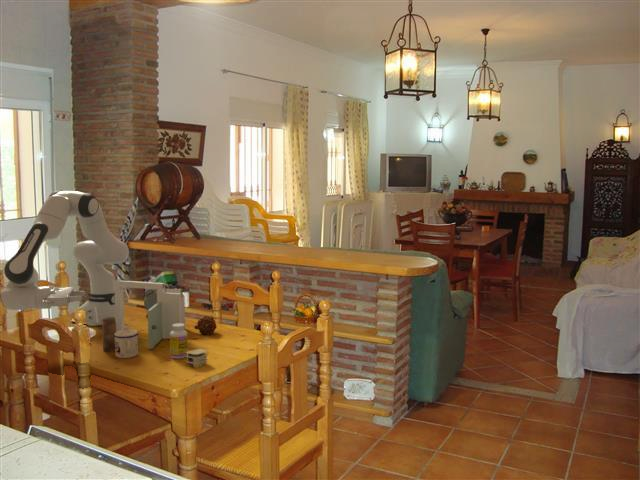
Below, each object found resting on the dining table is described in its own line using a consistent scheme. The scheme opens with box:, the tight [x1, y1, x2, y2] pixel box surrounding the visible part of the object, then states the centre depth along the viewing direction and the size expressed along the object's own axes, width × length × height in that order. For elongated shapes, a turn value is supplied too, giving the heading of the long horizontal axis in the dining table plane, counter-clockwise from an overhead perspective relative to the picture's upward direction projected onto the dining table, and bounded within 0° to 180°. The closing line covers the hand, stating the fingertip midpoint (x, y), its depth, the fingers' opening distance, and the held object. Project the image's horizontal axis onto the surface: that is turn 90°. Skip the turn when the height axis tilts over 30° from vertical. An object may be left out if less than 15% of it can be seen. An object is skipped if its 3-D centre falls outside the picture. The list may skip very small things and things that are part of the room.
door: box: [147, 302, 163, 350], centre depth 259 cm, size 16×3×16 cm, turn 179°
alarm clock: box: [143, 287, 167, 318], centre depth 304 cm, size 12×7×15 cm, turn 110°
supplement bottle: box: [169, 323, 189, 360], centre depth 243 cm, size 7×7×13 cm
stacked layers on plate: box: [186, 348, 208, 368], centre depth 234 cm, size 10×9×6 cm
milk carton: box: [166, 288, 186, 326], centre depth 281 cm, size 7×7×19 cm
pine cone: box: [193, 315, 217, 336], centre depth 276 cm, size 8×8×12 cm
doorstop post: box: [101, 317, 116, 353], centre depth 251 cm, size 5×5×13 cm
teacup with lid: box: [114, 325, 139, 359], centre depth 243 cm, size 12×9×12 cm
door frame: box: [114, 279, 182, 340], centre depth 270 cm, size 31×2×24 cm, turn 74°
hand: (83, 295), depth 247 cm, fingers open, 8 cm apart
